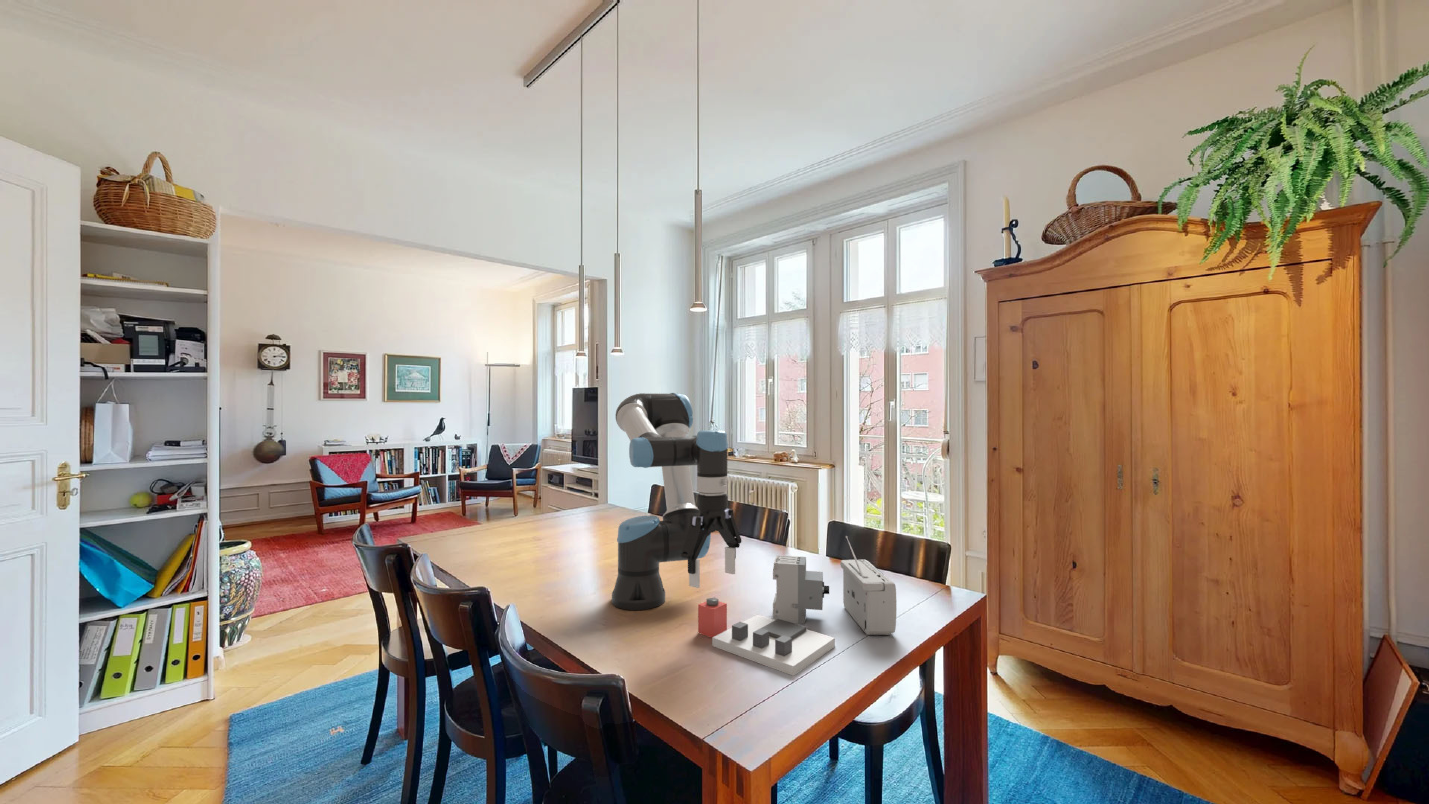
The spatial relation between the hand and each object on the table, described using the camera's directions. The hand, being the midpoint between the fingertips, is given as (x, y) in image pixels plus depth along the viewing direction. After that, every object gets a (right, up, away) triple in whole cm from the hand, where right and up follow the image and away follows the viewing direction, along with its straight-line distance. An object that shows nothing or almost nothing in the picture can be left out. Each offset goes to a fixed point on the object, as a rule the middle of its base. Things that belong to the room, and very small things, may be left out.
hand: (712, 579), depth 139 cm
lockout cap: (0, -13, 0) cm, 13 cm away
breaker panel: (+14, -13, -7) cm, 21 cm away
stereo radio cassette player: (+40, -13, +8) cm, 43 cm away
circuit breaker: (+23, -13, +10) cm, 28 cm away
